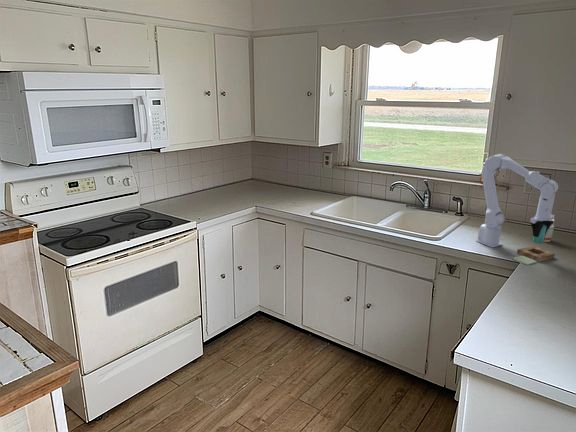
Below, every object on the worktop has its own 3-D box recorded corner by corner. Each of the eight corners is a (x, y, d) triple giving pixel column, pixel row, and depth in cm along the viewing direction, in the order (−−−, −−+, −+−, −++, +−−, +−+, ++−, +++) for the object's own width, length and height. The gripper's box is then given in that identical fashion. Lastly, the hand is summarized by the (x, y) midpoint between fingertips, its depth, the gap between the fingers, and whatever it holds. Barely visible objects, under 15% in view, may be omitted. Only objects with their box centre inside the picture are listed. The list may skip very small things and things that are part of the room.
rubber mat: (512, 259, 200) (512, 258, 199) (522, 256, 203) (522, 255, 203) (526, 265, 194) (526, 264, 194) (536, 262, 197) (537, 261, 197)
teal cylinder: (530, 240, 203) (533, 224, 200) (536, 239, 205) (539, 223, 202) (539, 244, 199) (542, 227, 197) (545, 242, 201) (548, 226, 199)
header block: (516, 253, 207) (517, 249, 206) (531, 249, 212) (532, 245, 211) (538, 261, 198) (539, 257, 197) (554, 257, 202) (554, 253, 202)
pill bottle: (534, 237, 227) (538, 217, 223) (545, 237, 227) (550, 217, 224) (542, 242, 221) (546, 221, 217) (553, 242, 221) (558, 220, 218)
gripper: (543, 212, 190) (537, 241, 195) (563, 207, 197) (557, 236, 201) (528, 207, 196) (522, 235, 200) (548, 203, 203) (542, 231, 207)
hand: (538, 235), depth 201 cm, fingers closed on teal cylinder, 4 cm apart
